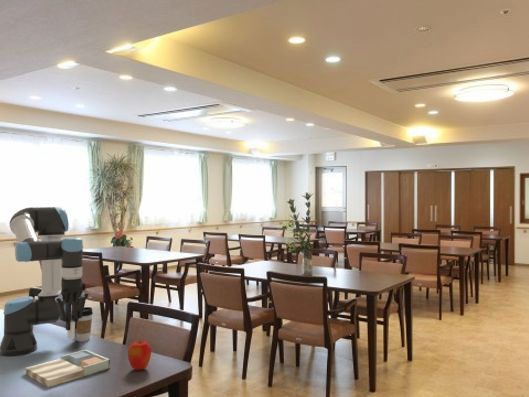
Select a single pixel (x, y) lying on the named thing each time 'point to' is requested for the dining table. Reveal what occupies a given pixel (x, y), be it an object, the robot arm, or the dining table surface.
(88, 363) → the tile terracotta
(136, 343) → the apple
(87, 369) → the box
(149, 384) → the dining table surface
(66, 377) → the light wooden slatted rack
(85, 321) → the coffee cup
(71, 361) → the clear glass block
